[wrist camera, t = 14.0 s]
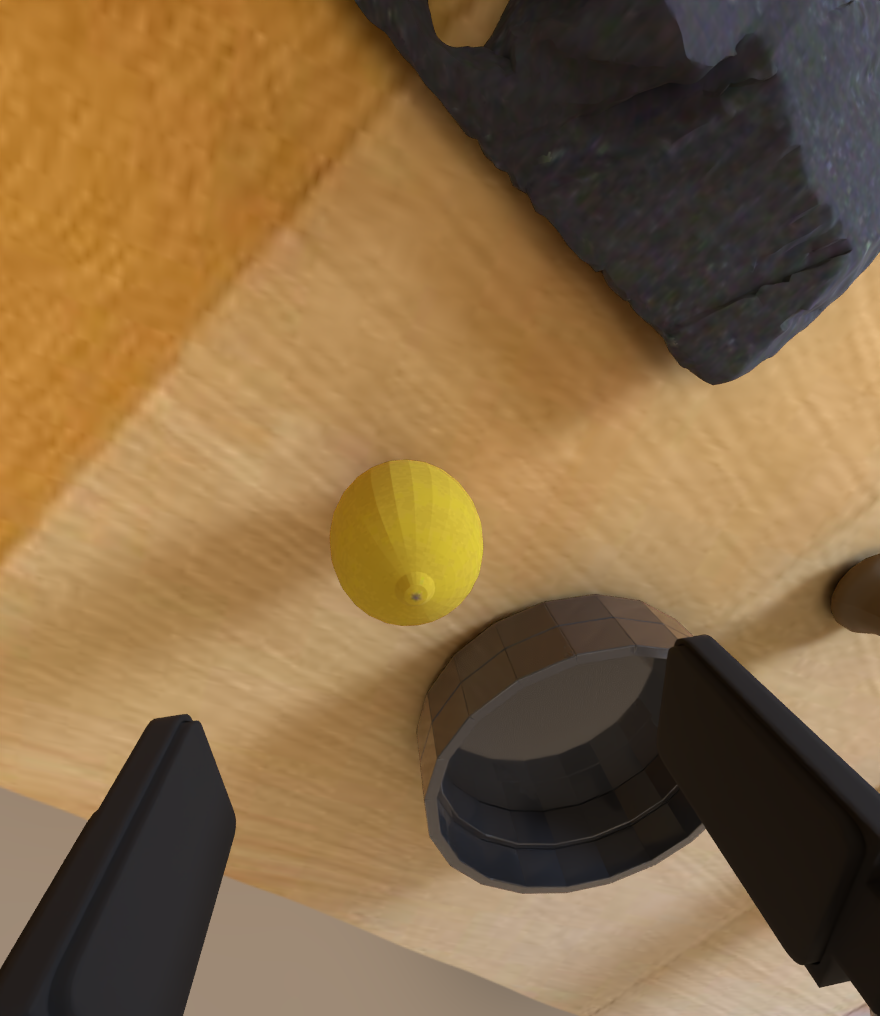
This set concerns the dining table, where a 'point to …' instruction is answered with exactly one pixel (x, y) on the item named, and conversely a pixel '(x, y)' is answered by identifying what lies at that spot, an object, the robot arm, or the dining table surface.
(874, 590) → the kendama
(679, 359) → the dark slate chunk
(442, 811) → the pan
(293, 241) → the dining table surface
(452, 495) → the lemon
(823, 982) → the robot arm
